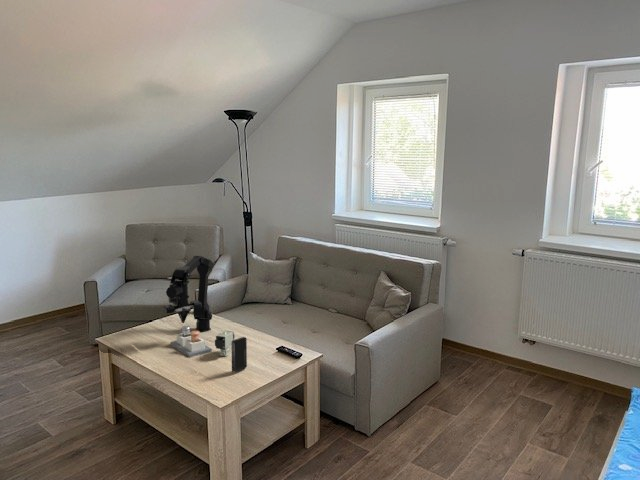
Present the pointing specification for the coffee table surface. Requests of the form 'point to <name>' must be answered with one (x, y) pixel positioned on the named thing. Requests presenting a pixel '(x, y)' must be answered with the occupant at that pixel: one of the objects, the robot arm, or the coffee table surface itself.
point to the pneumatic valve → (224, 342)
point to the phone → (239, 354)
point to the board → (190, 346)
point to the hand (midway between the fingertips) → (182, 322)
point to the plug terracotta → (194, 336)
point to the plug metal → (185, 331)
